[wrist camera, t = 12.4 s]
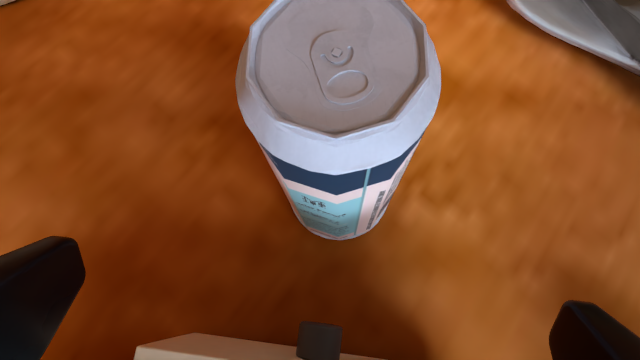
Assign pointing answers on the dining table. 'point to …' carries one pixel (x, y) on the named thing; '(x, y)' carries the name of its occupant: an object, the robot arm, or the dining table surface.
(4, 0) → the hand bell
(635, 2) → the avocado toast plate
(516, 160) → the dining table surface
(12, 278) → the robot arm
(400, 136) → the beer can
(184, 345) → the drawer
